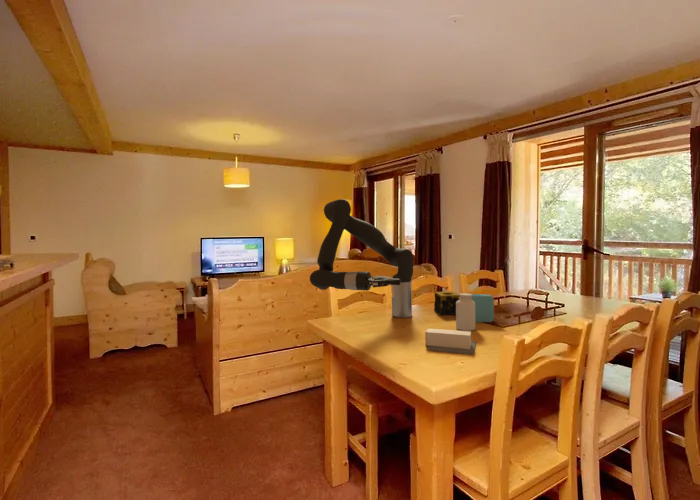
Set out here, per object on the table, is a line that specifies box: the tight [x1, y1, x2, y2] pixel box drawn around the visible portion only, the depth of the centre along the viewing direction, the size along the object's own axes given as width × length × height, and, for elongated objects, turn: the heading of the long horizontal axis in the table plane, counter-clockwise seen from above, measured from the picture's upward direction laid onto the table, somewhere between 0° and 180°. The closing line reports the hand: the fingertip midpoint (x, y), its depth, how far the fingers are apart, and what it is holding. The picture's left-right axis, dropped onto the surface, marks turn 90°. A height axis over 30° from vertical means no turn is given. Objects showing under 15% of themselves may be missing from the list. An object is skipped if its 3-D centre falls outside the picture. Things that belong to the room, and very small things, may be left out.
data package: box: [471, 293, 495, 323], centre depth 177 cm, size 12×4×12 cm, turn 81°
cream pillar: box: [424, 328, 472, 349], centre depth 143 cm, size 5×5×16 cm
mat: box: [427, 340, 477, 355], centre depth 142 cm, size 16×14×1 cm
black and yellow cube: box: [433, 290, 460, 316], centre depth 193 cm, size 10×10×10 cm
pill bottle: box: [455, 292, 476, 332], centre depth 164 cm, size 8×8×15 cm
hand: (400, 282), depth 148 cm, fingers closed
